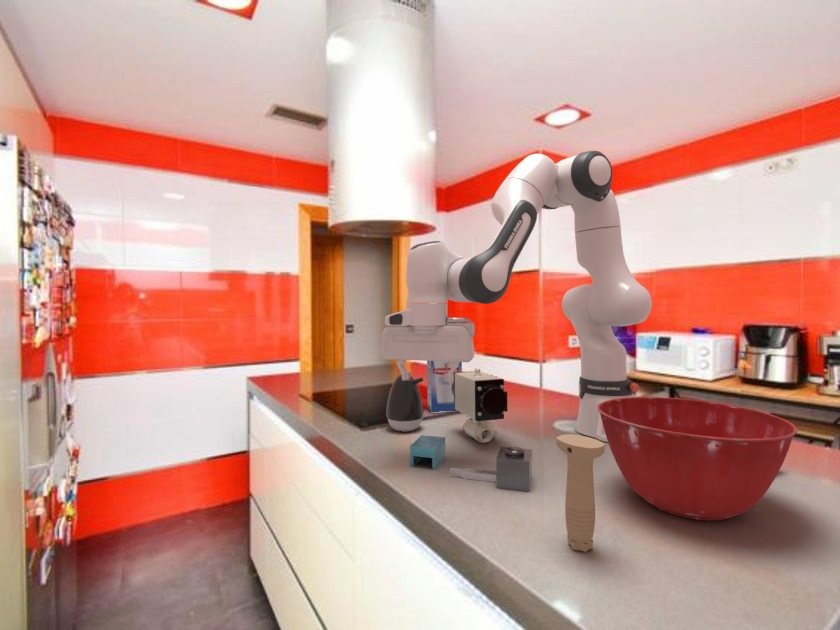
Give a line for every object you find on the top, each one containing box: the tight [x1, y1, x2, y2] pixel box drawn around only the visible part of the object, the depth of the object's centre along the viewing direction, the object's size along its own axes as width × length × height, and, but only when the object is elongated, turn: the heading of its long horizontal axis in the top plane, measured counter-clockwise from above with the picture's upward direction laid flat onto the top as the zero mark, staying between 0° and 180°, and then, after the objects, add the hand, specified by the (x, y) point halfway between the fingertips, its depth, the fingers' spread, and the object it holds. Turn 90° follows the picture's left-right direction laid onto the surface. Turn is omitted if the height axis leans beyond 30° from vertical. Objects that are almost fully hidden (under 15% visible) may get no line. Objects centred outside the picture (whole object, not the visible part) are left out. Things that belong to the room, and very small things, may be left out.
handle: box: [556, 433, 606, 553], centre depth 62 cm, size 5×6×15 cm
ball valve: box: [452, 368, 508, 444], centre depth 112 cm, size 18×8×18 cm, turn 19°
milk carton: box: [426, 361, 463, 413], centre depth 141 cm, size 10×6×20 cm, turn 102°
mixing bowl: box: [597, 396, 798, 521], centre depth 76 cm, size 28×28×15 cm
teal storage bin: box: [409, 434, 446, 471], centre depth 96 cm, size 8×6×4 cm
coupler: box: [449, 446, 533, 493], centre depth 86 cm, size 16×7×6 cm, turn 72°
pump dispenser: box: [385, 373, 425, 433], centre depth 121 cm, size 10×10×15 cm
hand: (426, 381), depth 96 cm, fingers open, 8 cm apart
